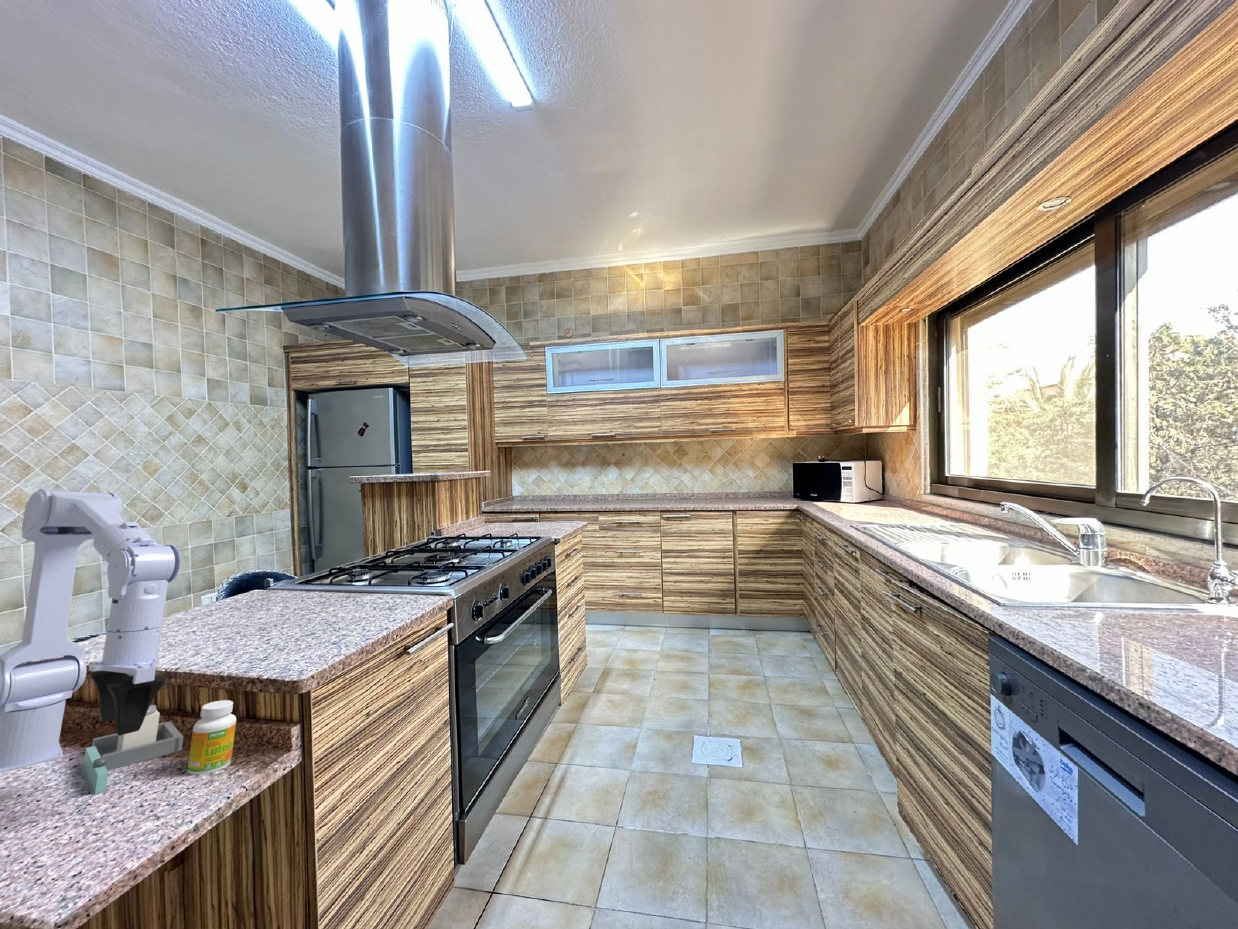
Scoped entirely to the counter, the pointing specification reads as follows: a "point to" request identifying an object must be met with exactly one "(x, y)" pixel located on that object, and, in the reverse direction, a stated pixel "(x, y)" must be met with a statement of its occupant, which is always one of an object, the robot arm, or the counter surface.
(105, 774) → the teal long flat bar
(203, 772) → the supplement bottle
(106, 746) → the housing
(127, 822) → the counter surface
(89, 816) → the counter surface
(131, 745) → the cream block with knob
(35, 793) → the counter surface
